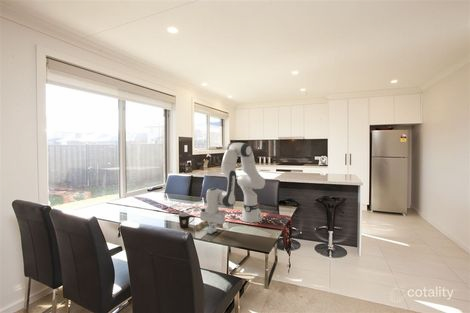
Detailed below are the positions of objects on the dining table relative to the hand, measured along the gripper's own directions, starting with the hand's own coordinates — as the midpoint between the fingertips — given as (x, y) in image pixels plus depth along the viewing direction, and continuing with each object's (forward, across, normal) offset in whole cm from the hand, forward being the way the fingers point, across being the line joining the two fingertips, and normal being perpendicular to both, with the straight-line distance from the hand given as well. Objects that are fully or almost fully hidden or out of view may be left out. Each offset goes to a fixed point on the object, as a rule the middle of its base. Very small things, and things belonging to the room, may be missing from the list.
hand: (212, 227), depth 175 cm
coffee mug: (+4, +25, +1) cm, 25 cm away
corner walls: (+4, +7, -5) cm, 9 cm away
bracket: (+3, +2, 0) cm, 3 cm away
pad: (+4, +8, -4) cm, 10 cm away
